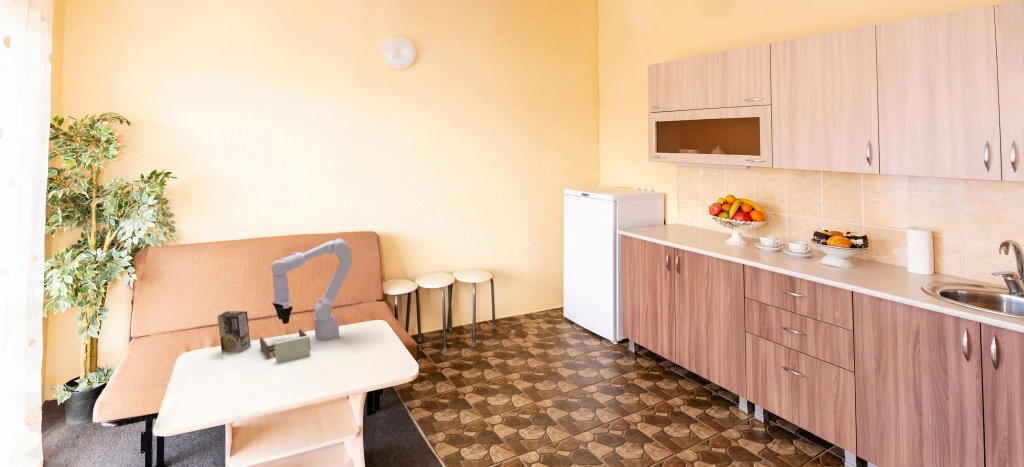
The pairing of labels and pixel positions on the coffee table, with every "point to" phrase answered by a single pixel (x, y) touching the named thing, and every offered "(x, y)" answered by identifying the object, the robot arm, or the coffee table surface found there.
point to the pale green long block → (292, 349)
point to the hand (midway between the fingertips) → (283, 321)
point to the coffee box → (234, 331)
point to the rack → (269, 349)
